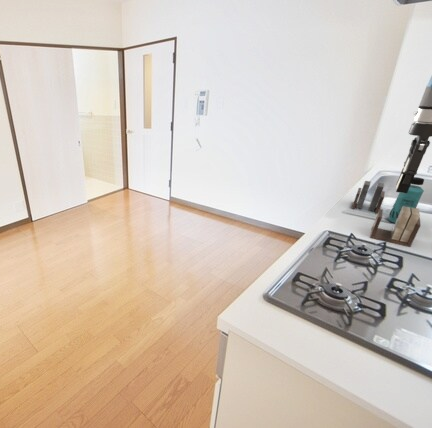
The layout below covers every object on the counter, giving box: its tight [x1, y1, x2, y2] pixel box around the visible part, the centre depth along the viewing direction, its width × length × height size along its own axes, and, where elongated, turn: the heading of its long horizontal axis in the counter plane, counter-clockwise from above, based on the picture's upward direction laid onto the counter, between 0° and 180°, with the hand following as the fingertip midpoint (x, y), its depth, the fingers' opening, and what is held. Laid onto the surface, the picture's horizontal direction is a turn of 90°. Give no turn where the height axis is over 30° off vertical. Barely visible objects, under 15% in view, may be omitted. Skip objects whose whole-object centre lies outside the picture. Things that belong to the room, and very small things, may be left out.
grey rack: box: [351, 180, 386, 215], centre depth 125 cm, size 9×9×13 cm
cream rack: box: [369, 206, 422, 248], centre depth 104 cm, size 11×9×12 cm
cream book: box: [395, 157, 414, 194], centre depth 98 cm, size 2×8×11 cm, turn 138°
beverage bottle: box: [388, 176, 425, 224], centre depth 111 cm, size 6×7×20 cm
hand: (401, 188), depth 100 cm, fingers closed on cream book, 8 cm apart
